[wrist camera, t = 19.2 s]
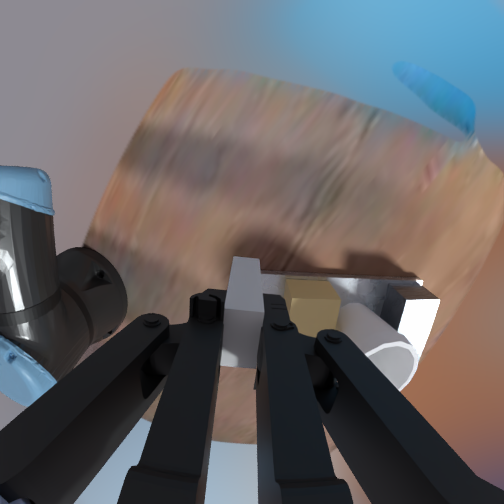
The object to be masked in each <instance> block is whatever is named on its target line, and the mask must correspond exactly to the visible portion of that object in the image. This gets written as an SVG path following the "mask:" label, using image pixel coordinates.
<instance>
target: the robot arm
mask: <svg viewBox="0 0 504 504" xmlns="http://www.w3.org/2000/svg"><path fill="white" fill-rule="evenodd" d="M54 213H55V212H54V210H53V207H52V191H51V181H50V178H49V176H48V175H47V173H46V172H45V171H43V170H41V169H37V168H30V167H19V166H0V391H1V392H2V393H3V394H5V395H6V396H7V397H9V398H10V399H12V400H14V401H15V402H17V403H19V404H21V405H24V406H27V407H28V408H26V409H25V410H24V411H23V412H22V413H20V414H19V415H18V416H17V417H16V418H15V419H14V420H12V421H11V422H10V423H9V424H8V425H7V426H5V427H4V428H3V429H2V430H1V431H0V504H74V502H75V501H76V500H77V499H78V497H79V496H80V495H81V493H82V492H83V491H84V490H85V489H86V487H87V486H88V485H89V483H90V482H91V481H92V480H93V478H94V477H95V476H96V475H97V473H98V472H99V471H100V470H101V468H102V467H103V466H104V465H105V463H106V462H107V460H108V459H109V458H110V457H111V455H112V454H113V453H114V452H115V450H116V449H117V448H118V447H119V445H120V444H121V443H122V442H123V440H124V439H125V438H126V436H127V435H128V434H129V433H130V431H131V430H132V429H133V427H134V426H135V425H136V423H137V422H138V421H139V420H140V418H141V417H142V416H143V414H144V413H145V412H146V411H147V409H148V408H149V407H150V405H151V404H152V403H153V401H154V400H155V399H156V398H157V396H158V395H159V394H160V392H161V391H162V390H163V392H162V395H161V398H160V401H159V403H158V406H157V409H156V412H155V415H154V418H153V421H152V424H151V427H150V431H149V433H148V436H147V440H146V443H145V446H144V449H143V452H142V455H141V459H140V461H139V463H138V465H137V466H131V468H130V469H129V470H128V473H127V475H126V477H125V480H124V483H123V486H122V490H121V493H120V496H119V499H118V502H117V504H204V500H205V492H206V482H207V474H208V465H209V456H210V448H211V440H212V431H213V423H214V415H215V407H216V399H217V391H218V383H219V376H220V365H221V366H231V367H242V368H254V369H256V366H257V371H256V377H255V384H254V389H255V390H256V413H257V462H258V504H353V500H352V496H351V492H350V489H349V486H348V484H347V482H346V481H345V480H344V479H338V478H337V477H336V476H335V473H334V469H333V465H332V461H331V457H330V453H329V448H328V444H327V440H326V436H325V432H324V428H323V424H324V426H325V428H326V429H327V431H328V433H329V435H330V436H331V438H332V440H333V441H334V443H335V445H336V446H337V448H338V449H339V451H340V453H341V455H342V456H343V458H344V460H345V461H346V463H347V465H348V466H349V468H350V469H351V471H352V473H353V474H354V476H355V478H356V479H357V481H358V482H359V484H360V486H361V487H362V489H363V491H364V492H365V494H366V495H367V497H368V499H369V500H370V502H371V503H372V504H504V491H503V490H502V489H500V488H498V487H496V486H494V485H492V484H490V483H489V482H487V481H485V480H483V479H481V478H480V477H478V476H476V475H475V473H474V472H473V471H472V470H471V469H470V468H469V467H468V466H467V464H466V463H465V462H464V461H463V460H462V459H461V458H460V457H459V456H458V455H457V453H456V452H455V451H454V450H453V449H452V448H451V447H450V446H449V445H448V444H447V442H446V441H445V440H444V439H443V438H442V437H441V436H440V435H439V434H438V433H437V431H436V430H435V429H434V428H433V427H432V426H431V425H430V424H429V423H428V422H427V421H426V420H425V418H424V417H423V416H422V415H421V414H420V413H419V412H418V411H417V410H416V409H415V408H414V406H413V405H412V404H411V403H410V402H409V401H408V400H407V399H406V398H405V397H404V396H403V395H402V394H401V392H400V391H399V390H398V389H397V388H396V387H395V386H394V385H393V384H392V383H391V382H390V381H389V380H388V378H387V377H386V376H385V375H384V374H383V373H382V372H381V371H380V370H379V369H378V368H377V367H376V366H375V365H374V364H373V362H372V361H371V360H370V359H369V358H368V357H367V356H366V355H365V354H364V353H363V352H362V351H361V350H360V349H359V348H358V347H357V345H356V344H355V343H354V342H353V341H352V340H351V339H350V338H349V337H348V336H347V335H346V334H344V333H342V332H340V331H338V330H334V329H324V330H321V331H319V332H318V333H317V336H316V338H315V337H311V336H307V335H303V334H301V333H299V332H298V328H297V326H296V324H295V323H293V322H292V321H290V317H289V313H288V310H287V306H286V301H285V299H284V298H283V297H282V296H281V295H277V294H265V293H263V292H262V281H261V271H260V261H259V259H257V258H247V257H237V256H233V262H232V267H231V273H230V278H229V284H228V289H227V290H217V289H207V290H205V291H204V292H203V293H198V294H195V295H192V296H191V297H190V314H189V320H188V322H187V323H183V324H176V325H169V320H168V319H167V318H166V317H165V316H163V315H160V314H155V313H152V314H151V313H148V314H144V315H141V316H139V317H137V318H136V319H135V320H134V321H132V322H131V323H130V324H129V325H127V326H126V327H125V328H124V329H122V330H121V331H120V332H119V333H117V334H116V335H115V336H114V337H112V338H111V339H110V340H109V341H107V342H106V343H105V344H104V345H102V346H101V347H100V348H99V349H98V350H96V351H95V352H94V353H93V354H91V355H90V356H89V357H88V358H86V359H85V360H84V361H83V362H82V363H80V364H79V365H78V366H77V367H75V368H74V366H75V365H76V364H77V362H78V361H79V359H80V358H81V357H82V355H83V354H84V353H85V351H86V350H87V349H88V347H89V346H90V345H92V344H94V343H97V342H99V341H101V340H103V339H105V338H107V337H109V336H111V335H112V334H113V333H114V332H115V331H116V330H117V329H118V328H119V326H120V325H121V323H122V322H123V320H124V318H125V316H126V312H127V294H126V290H125V286H124V284H123V281H122V279H121V277H120V275H119V274H118V272H117V271H116V269H115V268H114V267H113V265H112V264H111V263H110V262H109V261H108V260H107V259H106V258H104V257H103V256H102V255H100V254H99V253H97V252H95V251H93V250H90V249H87V248H82V247H75V248H71V249H68V250H66V251H64V252H62V253H60V254H59V255H57V256H56V249H55V238H54V224H53V215H54ZM73 368H74V369H73ZM72 369H73V370H72ZM337 381H338V382H337ZM163 388H164V389H163ZM322 423H323V424H322Z"/></svg>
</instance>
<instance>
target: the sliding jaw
mask: <svg viewBox="0 0 504 504" xmlns="http://www.w3.org/2000/svg"><path fill="white" fill-rule="evenodd" d="M284 299H285V301H286V306H287V310H288V313H289V317H290V321H292V322H293V323H295V324H296V326H297V328H298V332H299V333H301V334H303V335H307V336H311V337H315V338H316V336H317V333H318V332H319V331H321V330H324V329H334V330H335V327H336V323H337V318H338V314H339V309H340V304H341V298H340V297H339V295H338V294H337V292H336V291H335V289H334V288H333V286H332V285H331V283H330V282H329V281H317V280H296V279H286V282H285V291H284Z"/></svg>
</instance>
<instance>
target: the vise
mask: <svg viewBox="0 0 504 504" xmlns="http://www.w3.org/2000/svg"><path fill="white" fill-rule="evenodd" d="M260 271H261V281H262V292H263V293H265V294H277V295H281V296H282V297H283V298H284V291H285V282H286V279H296V280H317V281H329V282H330V283H331V285H332V286H333V288H334V289H335V291H336V292H337V294H338V295H339V297H340V298H341V304H340V308H341V307H343V306H345V305H347V304H349V303H360V304H362V305H365V306H366V307H368V308H369V309H370V310H371V311H373V312H374V313H375V314H376V315H378V316H379V317H380V318H381V319H383V320H384V321H385V322H386V323H387V324H389V325H390V326H391V327H392V328H394V329H395V330H396V331H397V332H398V333H400V334H403V335H405V337H406V338H407V339H408V340H409V342H410V343H411V344H412V345H413V347H414V349H415V350H416V352H417V354H418V361H419V358H420V356H421V353H422V351H423V348H424V346H425V343H426V340H427V338H428V335H429V332H430V329H431V326H432V323H433V320H434V317H435V314H436V311H437V308H438V305H439V301H440V299H439V298H437V297H436V296H435V295H434V294H432V293H431V292H430V291H428V290H427V289H426V288H425V287H423V286H422V283H423V280H421V279H420V278H419V277H393V276H369V275H346V274H326V273H306V272H288V271H270V270H260Z"/></svg>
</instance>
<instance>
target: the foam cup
mask: <svg viewBox="0 0 504 504" xmlns="http://www.w3.org/2000/svg"><path fill="white" fill-rule="evenodd" d="M335 330H338V331H340V332H342V333H344V334H346V335H347V336H348V337H349V338H350V339H351V340H352V341H353V342H354V343H355V344H356V345H357V347H358V348H359V349H360V350H361V351H362V352H363V353H364V354H365V355H366V356H367V357H368V358H369V359H370V360H371V361H372V362H373V364H374V365H375V366H376V367H377V368H378V369H379V370H380V371H381V372H382V373H383V374H384V375H385V376H386V377H387V378H388V380H389V381H390V382H391V383H392V384H393V385H394V386H395V387H396V388H397V389H398V390H399V391H401V390H402V389H403V388H404V387H405V386H406V385H407V384H408V383H409V382H410V380H411V379H412V377H413V375H414V373H415V371H416V370H417V366H418V354H417V352H416V350H415V349H414V347H413V345H412V344H411V343H410V342H409V340H408V339H407V338H406V337H405V335H403V334H400V333H398V332H397V331H396V330H395V329H394V328H392V327H391V326H390V325H389V324H387V323H386V322H385V321H384V320H383V319H381V318H380V317H379V316H378V315H376V314H375V313H374V312H373V311H371V310H370V309H369V308H368V307H366V306H365V305H362V304H360V303H349V304H347V305H345V306H343V307H341V308H340V309H339V314H338V318H337V323H336V327H335Z"/></svg>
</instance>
